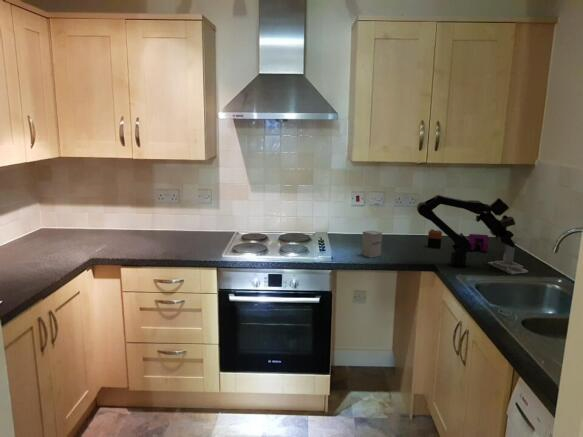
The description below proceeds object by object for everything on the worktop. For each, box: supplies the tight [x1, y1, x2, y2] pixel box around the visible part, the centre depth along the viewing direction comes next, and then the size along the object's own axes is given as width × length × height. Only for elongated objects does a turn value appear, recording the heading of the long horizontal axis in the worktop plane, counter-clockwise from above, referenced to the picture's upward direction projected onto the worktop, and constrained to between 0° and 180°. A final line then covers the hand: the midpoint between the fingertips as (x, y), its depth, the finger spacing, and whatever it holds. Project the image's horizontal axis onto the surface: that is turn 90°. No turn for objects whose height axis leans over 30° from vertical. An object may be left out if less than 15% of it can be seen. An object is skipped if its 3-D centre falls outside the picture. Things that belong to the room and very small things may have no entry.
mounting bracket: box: [466, 233, 489, 253], centre depth 260 cm, size 9×8×18 cm
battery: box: [427, 229, 443, 250], centre depth 260 cm, size 4×7×10 cm, turn 67°
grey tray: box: [487, 260, 529, 275], centre depth 225 cm, size 9×17×2 cm, turn 17°
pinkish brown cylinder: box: [361, 229, 383, 259], centre depth 242 cm, size 7×7×13 cm
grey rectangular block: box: [502, 239, 516, 262], centre depth 223 cm, size 4×4×10 cm
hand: (512, 245), depth 223 cm, fingers closed on grey rectangular block, 4 cm apart
